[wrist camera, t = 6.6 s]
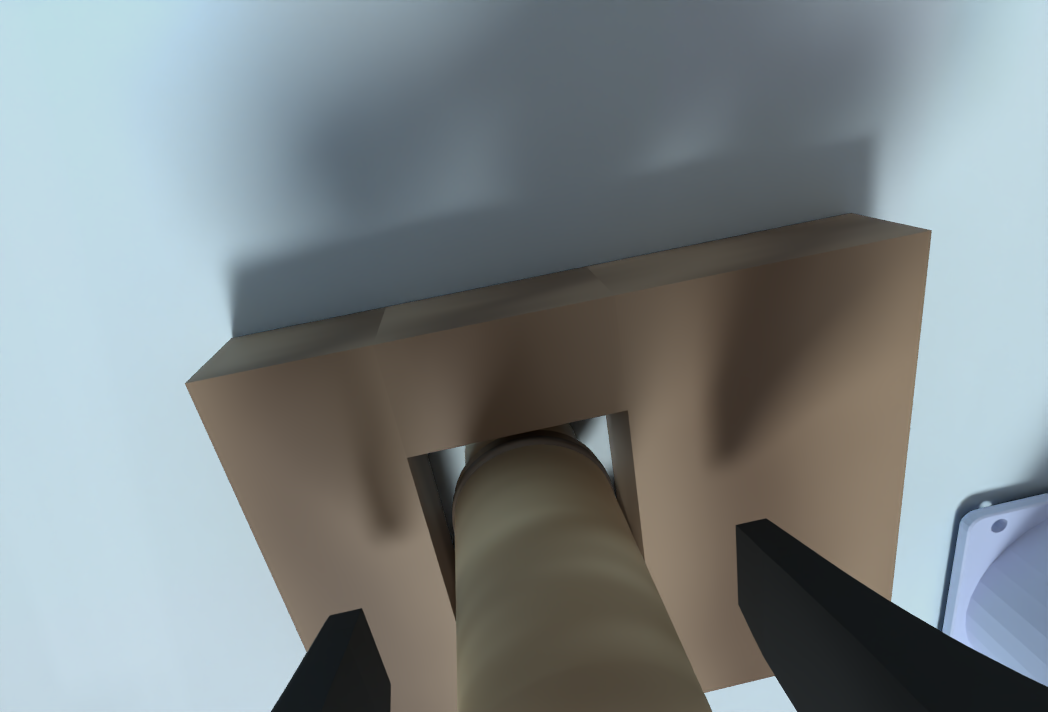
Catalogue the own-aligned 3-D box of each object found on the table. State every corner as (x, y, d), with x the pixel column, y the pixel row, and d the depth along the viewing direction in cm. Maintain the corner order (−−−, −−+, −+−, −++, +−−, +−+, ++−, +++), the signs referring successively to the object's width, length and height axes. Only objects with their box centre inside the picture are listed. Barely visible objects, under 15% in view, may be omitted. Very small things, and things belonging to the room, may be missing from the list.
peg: (589, 383, 15) (731, 641, 7) (589, 502, 16) (708, 819, 9) (445, 396, 14) (442, 682, 7) (458, 516, 16) (466, 861, 8)
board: (850, 213, 14) (931, 230, 11) (831, 583, 18) (885, 649, 16) (231, 338, 13) (185, 383, 11) (373, 690, 18) (362, 775, 15)
